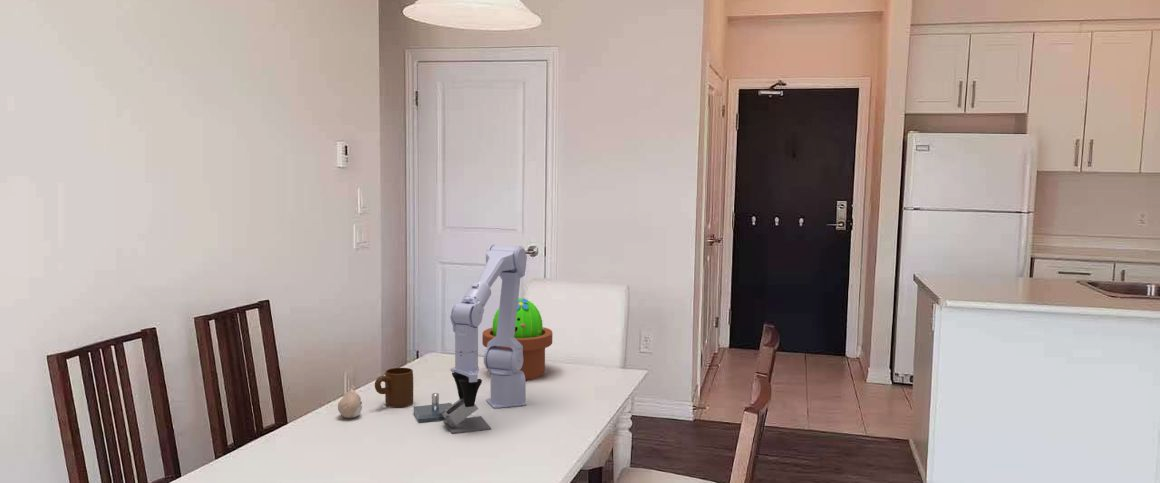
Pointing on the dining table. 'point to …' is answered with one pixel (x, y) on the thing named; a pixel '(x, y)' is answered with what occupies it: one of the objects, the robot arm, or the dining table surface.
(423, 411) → the metal base with post
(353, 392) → the garlic bulb
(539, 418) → the dining table surface
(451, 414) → the gray tabletop stand
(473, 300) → the robot arm
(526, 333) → the potted cactus
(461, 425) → the mat
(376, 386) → the mug
